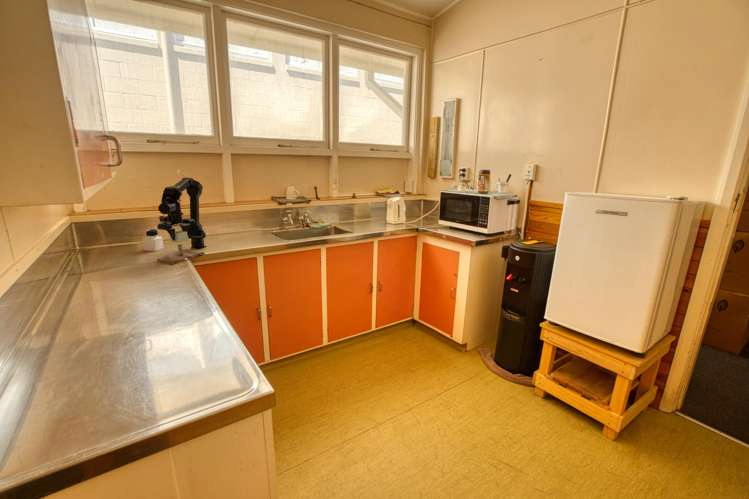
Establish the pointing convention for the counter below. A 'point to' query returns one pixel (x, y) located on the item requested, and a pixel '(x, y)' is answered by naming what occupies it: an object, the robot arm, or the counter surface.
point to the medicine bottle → (152, 241)
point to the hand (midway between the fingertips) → (179, 239)
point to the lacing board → (180, 256)
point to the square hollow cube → (180, 236)
